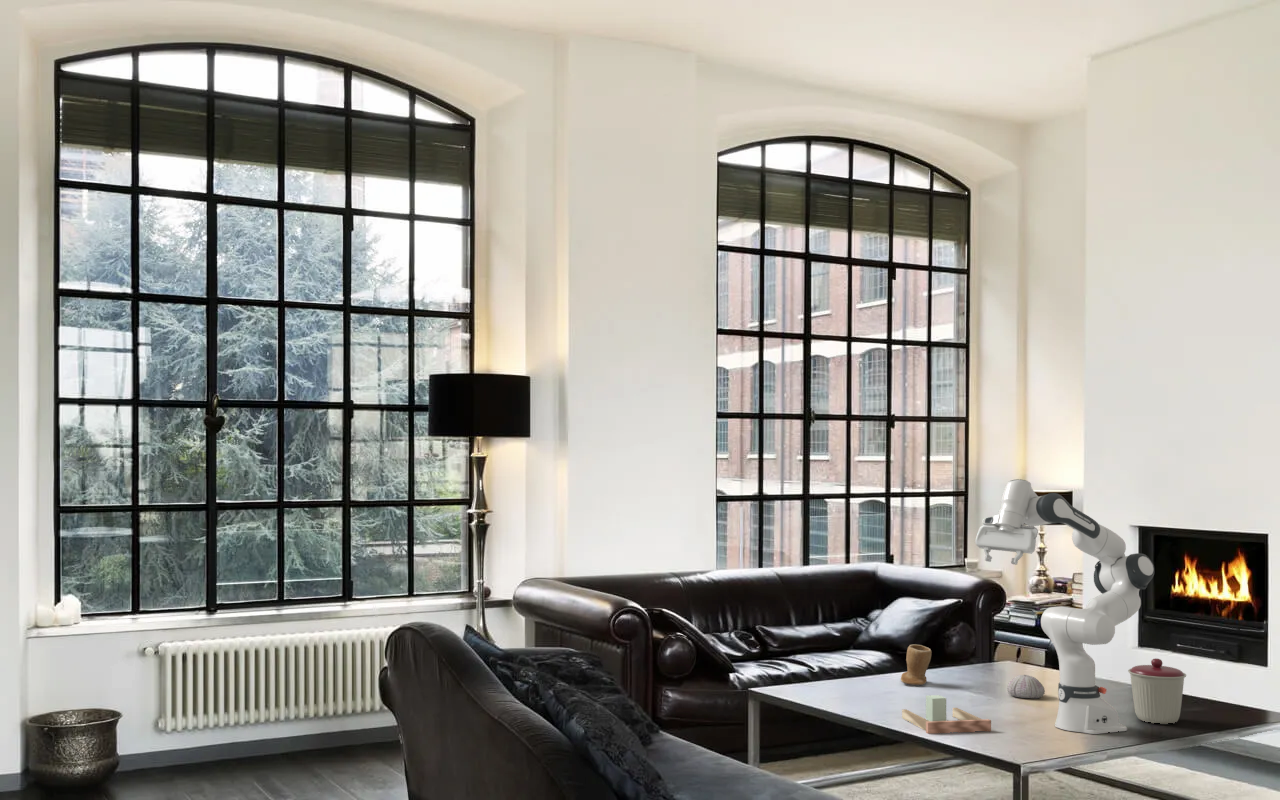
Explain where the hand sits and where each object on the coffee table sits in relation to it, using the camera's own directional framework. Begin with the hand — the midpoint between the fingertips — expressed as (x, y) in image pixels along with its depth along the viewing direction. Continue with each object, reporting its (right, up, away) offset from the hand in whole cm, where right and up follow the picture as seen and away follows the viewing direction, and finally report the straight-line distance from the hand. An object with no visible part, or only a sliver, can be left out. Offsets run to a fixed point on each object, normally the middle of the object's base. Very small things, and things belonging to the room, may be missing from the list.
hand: (1000, 562), depth 393 cm
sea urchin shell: (+23, -56, +45) cm, 76 cm away
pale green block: (-21, -53, +2) cm, 58 cm away
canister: (+55, -55, +5) cm, 78 cm away
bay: (-20, -53, -4) cm, 57 cm away
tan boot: (-12, -57, +68) cm, 90 cm away
